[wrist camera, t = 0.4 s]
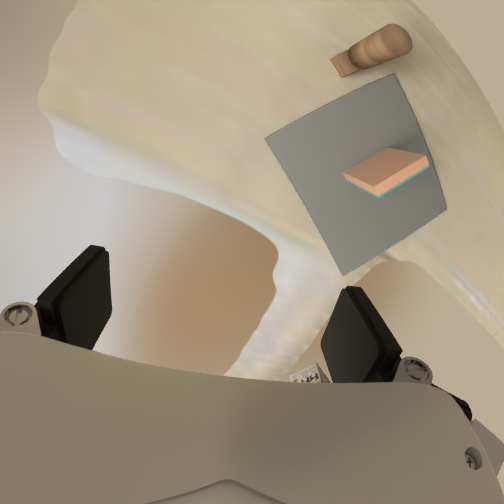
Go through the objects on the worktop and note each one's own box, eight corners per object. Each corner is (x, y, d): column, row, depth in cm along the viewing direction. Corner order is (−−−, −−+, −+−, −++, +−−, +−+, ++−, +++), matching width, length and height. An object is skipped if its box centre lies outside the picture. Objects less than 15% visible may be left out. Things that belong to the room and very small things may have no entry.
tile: (386, 147, 36) (425, 155, 27) (390, 156, 36) (430, 166, 27) (342, 172, 37) (373, 186, 28) (347, 181, 38) (378, 198, 29)
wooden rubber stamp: (361, 44, 30) (407, 18, 18) (374, 65, 31) (424, 47, 20) (328, 57, 31) (367, 31, 19) (342, 79, 32) (386, 61, 21)
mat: (391, 74, 32) (393, 73, 31) (444, 208, 41) (446, 209, 40) (264, 138, 36) (264, 139, 35) (341, 274, 45) (342, 276, 44)
